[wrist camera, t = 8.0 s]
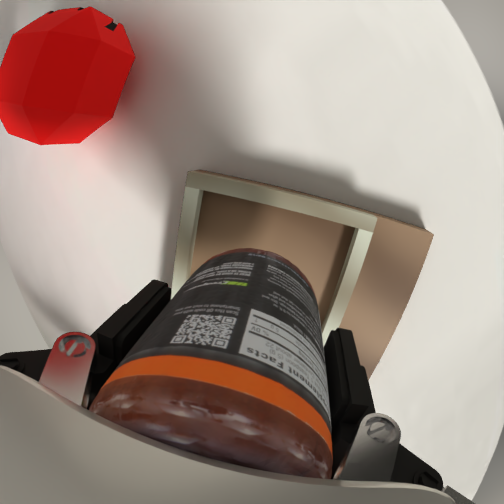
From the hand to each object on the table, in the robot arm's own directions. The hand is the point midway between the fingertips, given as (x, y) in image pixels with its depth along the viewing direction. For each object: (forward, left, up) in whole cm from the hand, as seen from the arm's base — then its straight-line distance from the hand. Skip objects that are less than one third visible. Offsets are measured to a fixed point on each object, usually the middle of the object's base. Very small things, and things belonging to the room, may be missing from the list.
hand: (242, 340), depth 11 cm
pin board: (-4, -2, -8) cm, 9 cm away
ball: (+10, +14, -8) cm, 19 cm away
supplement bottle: (0, 0, -3) cm, 3 cm away
